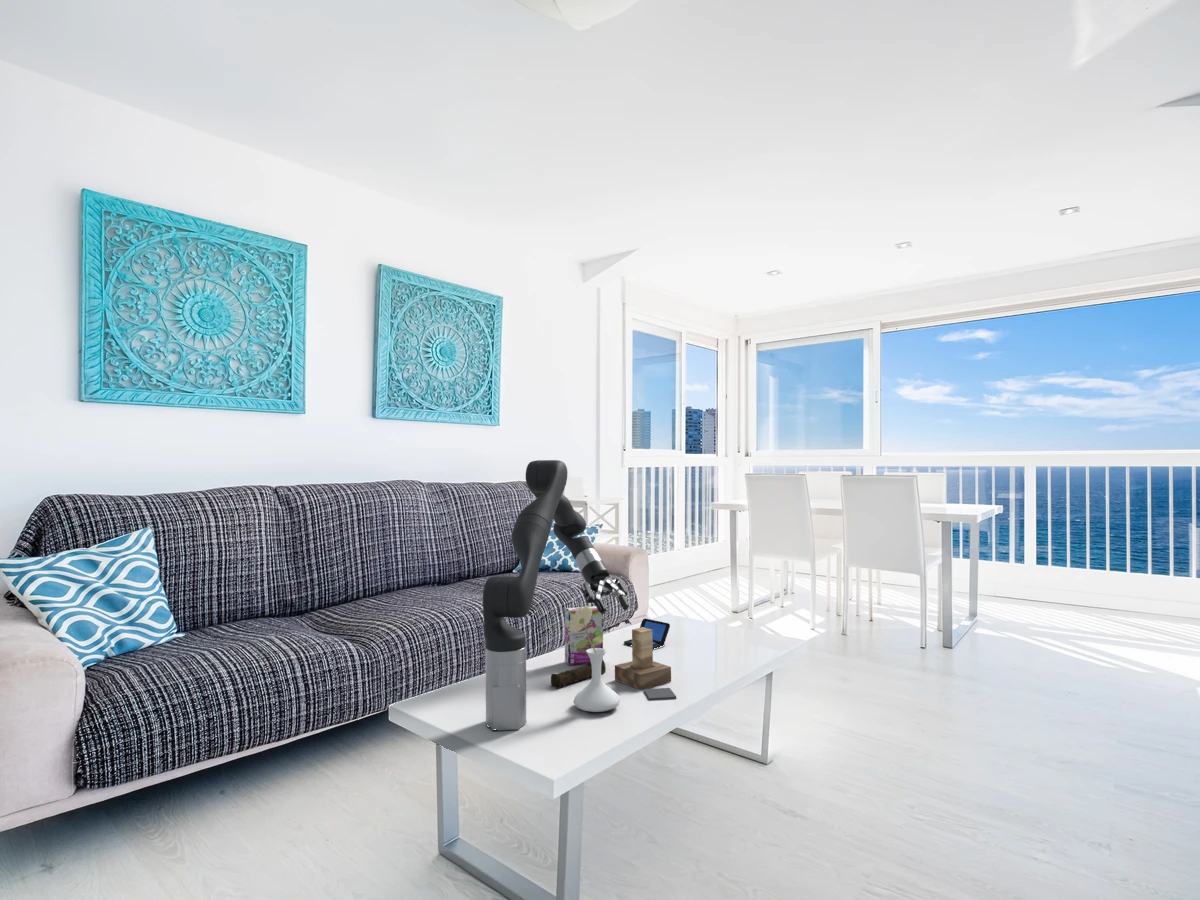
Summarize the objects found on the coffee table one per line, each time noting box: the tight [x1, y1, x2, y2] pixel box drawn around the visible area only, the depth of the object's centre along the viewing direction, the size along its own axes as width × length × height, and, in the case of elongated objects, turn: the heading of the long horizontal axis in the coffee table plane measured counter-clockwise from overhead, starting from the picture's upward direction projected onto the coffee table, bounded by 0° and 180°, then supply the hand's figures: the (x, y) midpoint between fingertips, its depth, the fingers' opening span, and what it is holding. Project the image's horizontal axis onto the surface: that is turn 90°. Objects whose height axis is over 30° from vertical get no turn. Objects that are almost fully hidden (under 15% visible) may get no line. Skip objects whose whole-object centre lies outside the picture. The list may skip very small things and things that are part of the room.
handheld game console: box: [623, 618, 671, 649], centre depth 214 cm, size 12×11×7 cm
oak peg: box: [631, 627, 654, 670], centre depth 175 cm, size 4×4×14 cm
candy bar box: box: [564, 605, 604, 666], centre depth 194 cm, size 11×5×16 cm, turn 108°
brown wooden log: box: [550, 659, 607, 689], centre depth 176 cm, size 19×4×5 cm, turn 131°
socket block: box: [614, 660, 672, 691], centre depth 175 cm, size 11×11×4 cm
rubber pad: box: [643, 687, 677, 701], centre depth 163 cm, size 7×7×1 cm
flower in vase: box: [567, 605, 621, 713], centre depth 154 cm, size 13×11×25 cm
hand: (615, 610), depth 185 cm, fingers open, 8 cm apart
